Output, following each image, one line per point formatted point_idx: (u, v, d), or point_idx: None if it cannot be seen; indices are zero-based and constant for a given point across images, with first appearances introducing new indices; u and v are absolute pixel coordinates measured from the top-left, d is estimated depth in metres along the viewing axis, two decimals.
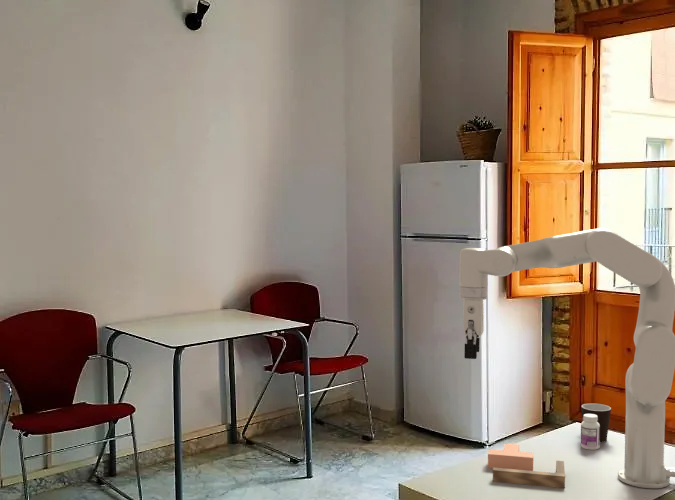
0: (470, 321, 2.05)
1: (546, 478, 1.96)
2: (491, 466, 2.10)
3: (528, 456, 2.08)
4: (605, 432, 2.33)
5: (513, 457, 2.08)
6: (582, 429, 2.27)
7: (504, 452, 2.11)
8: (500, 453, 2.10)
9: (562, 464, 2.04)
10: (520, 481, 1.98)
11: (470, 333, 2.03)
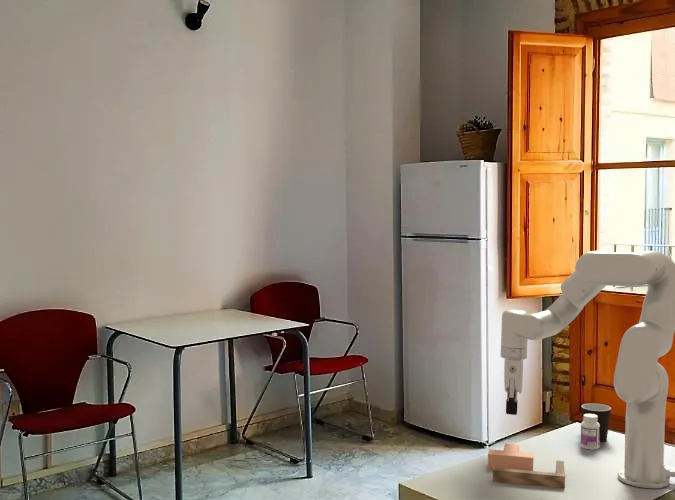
0: (511, 383, 2.21)
1: (546, 478, 1.96)
2: (491, 466, 2.10)
3: (528, 456, 2.08)
4: (605, 432, 2.33)
5: (513, 457, 2.08)
6: (582, 429, 2.27)
7: (504, 452, 2.11)
8: (500, 453, 2.10)
9: (562, 464, 2.04)
10: (520, 481, 1.98)
11: (512, 397, 2.21)
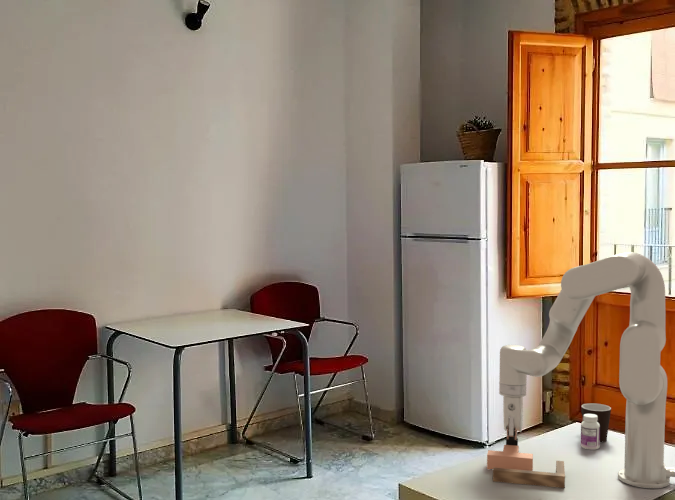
0: (511, 421, 2.14)
1: (546, 478, 1.96)
2: (490, 467, 2.09)
3: (528, 456, 2.07)
4: (605, 432, 2.33)
5: (512, 458, 2.07)
6: (582, 429, 2.27)
7: (503, 453, 2.10)
8: (499, 454, 2.09)
9: (562, 464, 2.04)
10: (520, 481, 1.98)
11: (511, 436, 2.14)
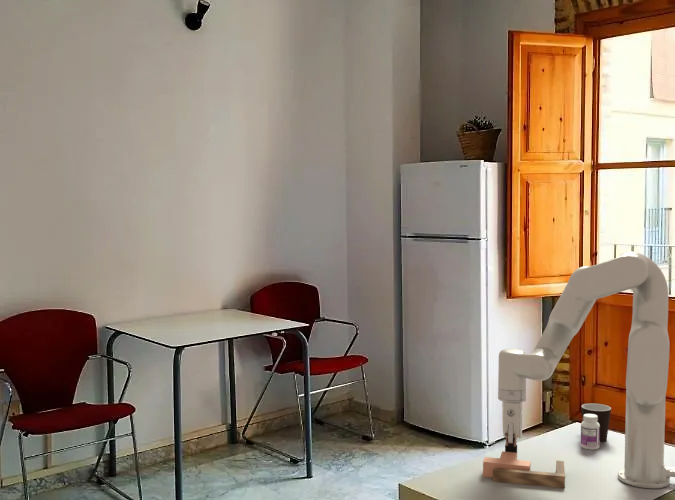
0: (510, 428, 2.08)
1: (546, 478, 1.96)
2: (486, 474, 2.03)
3: (525, 464, 2.01)
4: (605, 432, 2.33)
5: (509, 465, 2.02)
6: (582, 429, 2.27)
7: (500, 460, 2.04)
8: (496, 461, 2.04)
9: (562, 464, 2.04)
10: (520, 481, 1.98)
11: (511, 443, 2.09)
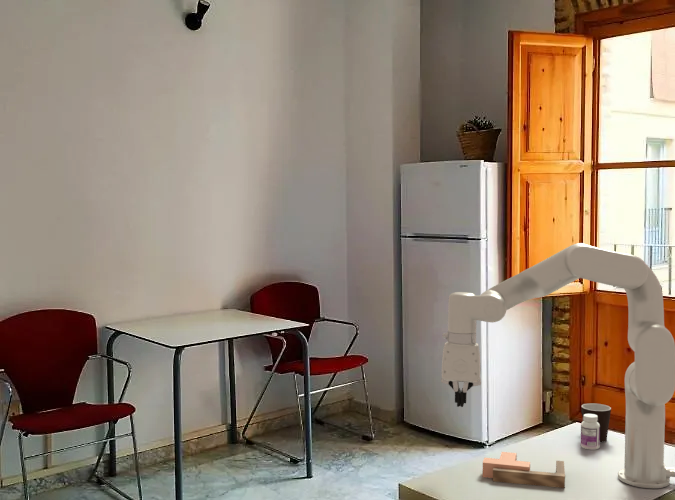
0: None
1: (546, 478, 1.96)
2: (486, 475, 2.03)
3: (525, 465, 2.01)
4: (605, 432, 2.33)
5: (508, 466, 2.01)
6: (582, 429, 2.27)
7: (500, 461, 2.04)
8: (495, 462, 2.03)
9: (562, 464, 2.04)
10: (520, 481, 1.98)
11: None
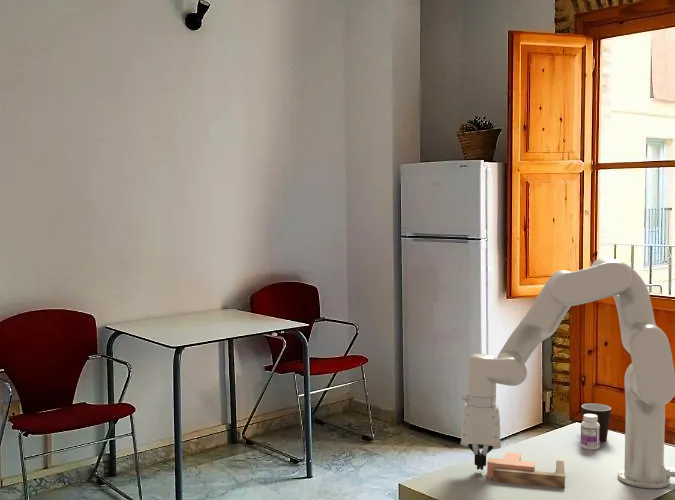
0: None
1: (546, 478, 1.96)
2: (490, 475, 2.03)
3: (529, 465, 2.01)
4: (605, 432, 2.33)
5: (513, 466, 2.01)
6: (582, 429, 2.27)
7: (504, 461, 2.04)
8: (500, 462, 2.03)
9: (562, 464, 2.04)
10: (520, 481, 1.98)
11: None
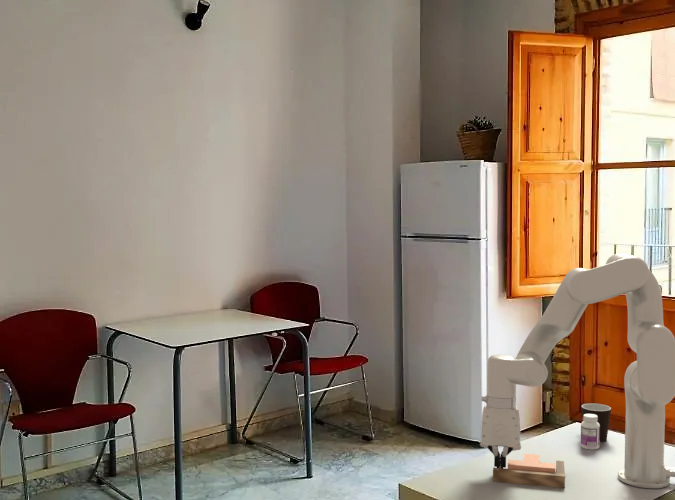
0: None
1: (546, 478, 1.96)
2: None
3: (550, 466, 1.99)
4: (605, 432, 2.33)
5: (534, 468, 2.00)
6: (582, 429, 2.27)
7: (524, 462, 2.02)
8: (520, 463, 2.02)
9: (562, 464, 2.04)
10: (520, 481, 1.98)
11: None
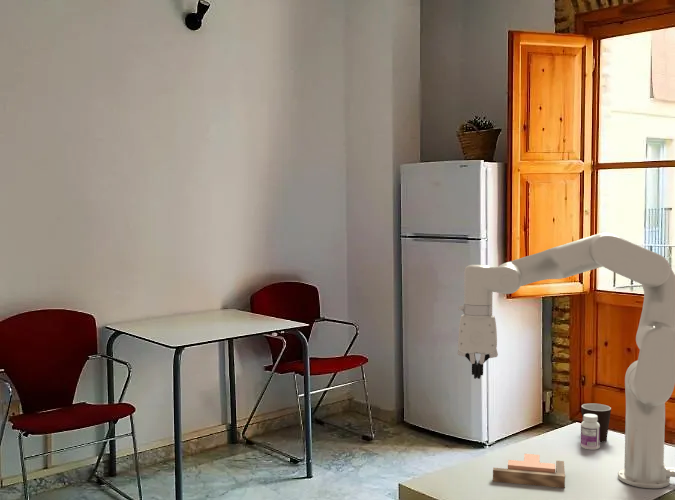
0: None
1: (546, 478, 1.96)
2: None
3: (550, 467, 1.99)
4: (605, 432, 2.33)
5: (534, 468, 1.99)
6: (582, 429, 2.27)
7: (524, 463, 2.02)
8: (520, 464, 2.02)
9: (562, 464, 2.04)
10: (520, 481, 1.98)
11: None
